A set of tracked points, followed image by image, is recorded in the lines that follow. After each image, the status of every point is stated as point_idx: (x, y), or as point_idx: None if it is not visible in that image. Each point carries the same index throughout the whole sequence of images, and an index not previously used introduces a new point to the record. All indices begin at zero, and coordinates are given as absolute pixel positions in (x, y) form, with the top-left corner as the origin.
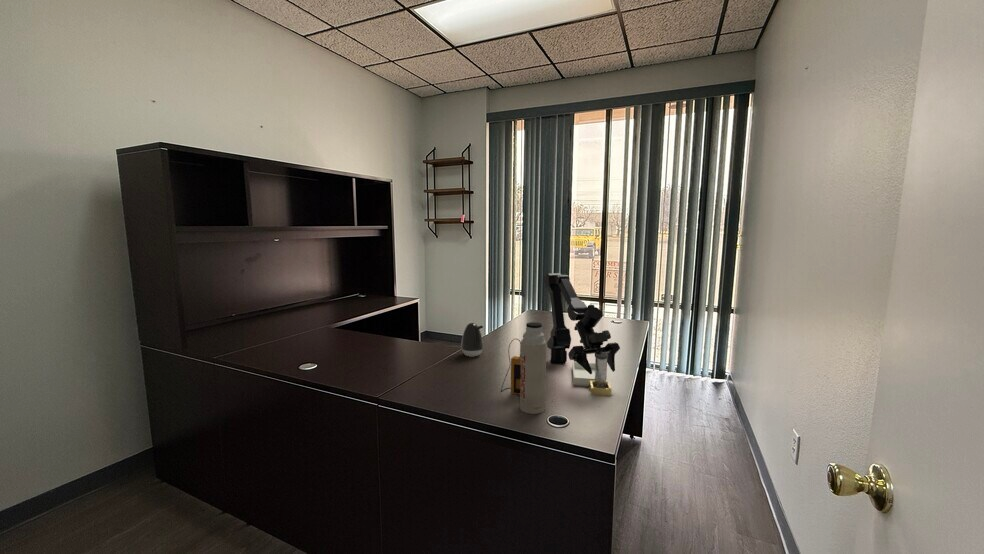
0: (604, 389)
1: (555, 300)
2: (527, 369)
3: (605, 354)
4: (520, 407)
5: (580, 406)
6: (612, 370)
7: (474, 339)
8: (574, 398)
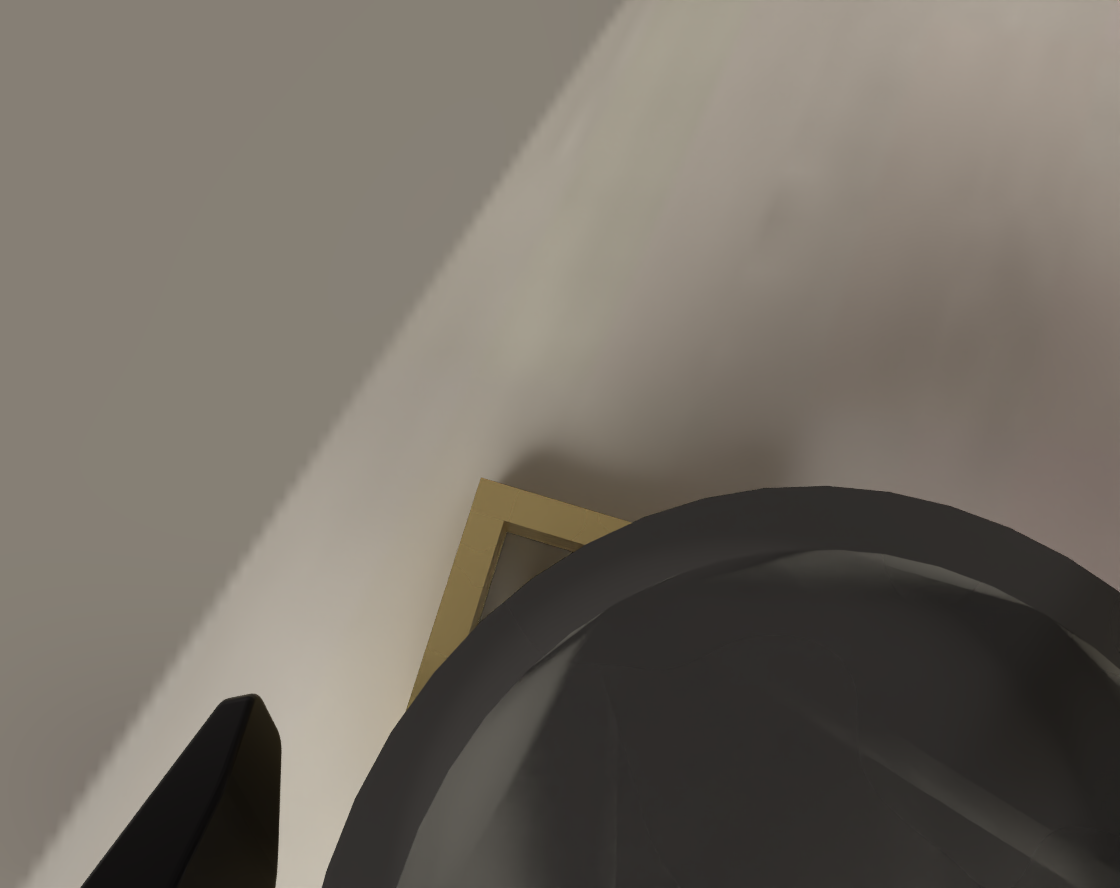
0: (589, 511)
1: None
2: None
3: (628, 707)
4: None
5: (1005, 240)
6: (274, 769)
7: None
8: (1034, 474)
